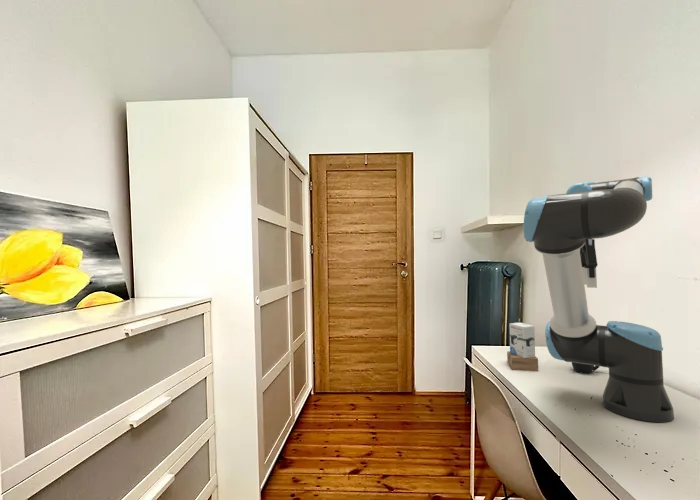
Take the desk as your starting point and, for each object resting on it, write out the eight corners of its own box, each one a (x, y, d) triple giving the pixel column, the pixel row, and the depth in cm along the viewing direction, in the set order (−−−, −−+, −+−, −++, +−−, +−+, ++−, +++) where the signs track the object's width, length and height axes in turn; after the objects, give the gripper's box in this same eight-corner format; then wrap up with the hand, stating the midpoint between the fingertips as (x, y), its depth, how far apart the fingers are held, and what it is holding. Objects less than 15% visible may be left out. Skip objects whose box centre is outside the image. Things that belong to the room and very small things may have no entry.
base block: (538, 372, 130) (538, 358, 130) (512, 370, 132) (511, 357, 132) (532, 365, 139) (531, 352, 139) (507, 363, 141) (507, 351, 141)
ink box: (509, 352, 139) (508, 322, 140) (520, 351, 140) (519, 322, 141) (524, 358, 131) (523, 326, 131) (535, 357, 132) (535, 326, 132)
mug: (612, 376, 123) (611, 349, 123) (574, 374, 126) (573, 347, 127) (603, 369, 131) (602, 343, 131) (566, 367, 134) (566, 342, 135)
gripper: (606, 222, 113) (609, 289, 112) (592, 228, 135) (594, 283, 135) (579, 224, 116) (581, 288, 115) (569, 229, 138) (571, 283, 138)
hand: (588, 286), depth 125 cm, fingers open, 13 cm apart
